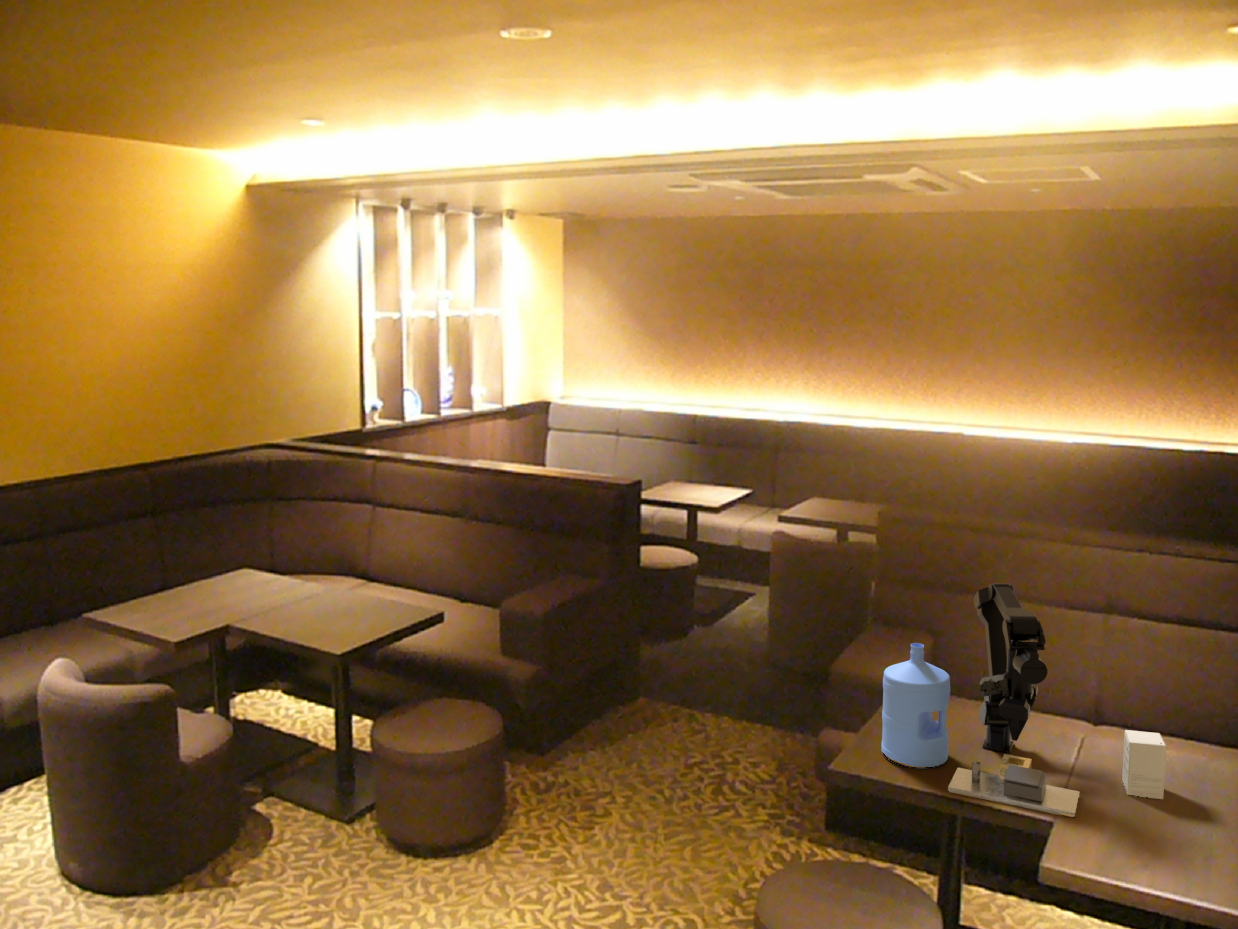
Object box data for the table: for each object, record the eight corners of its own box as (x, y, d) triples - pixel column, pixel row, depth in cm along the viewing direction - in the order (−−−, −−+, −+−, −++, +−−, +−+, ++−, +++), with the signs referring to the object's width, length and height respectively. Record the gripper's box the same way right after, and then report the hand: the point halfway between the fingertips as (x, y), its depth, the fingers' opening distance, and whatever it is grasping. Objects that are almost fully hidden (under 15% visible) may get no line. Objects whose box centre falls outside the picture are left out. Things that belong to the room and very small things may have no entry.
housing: (1009, 779, 224) (1009, 764, 223) (1046, 786, 220) (1046, 771, 219) (1003, 793, 217) (1004, 778, 216) (1041, 801, 213) (1042, 786, 212)
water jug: (873, 761, 237) (876, 649, 233) (890, 738, 251) (892, 631, 247) (940, 775, 229) (944, 659, 226) (953, 750, 243) (957, 640, 239)
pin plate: (957, 772, 231) (958, 749, 230) (1079, 796, 218) (1080, 772, 217) (948, 791, 221) (948, 768, 221) (1074, 818, 209) (1076, 793, 208)
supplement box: (1157, 785, 223) (1160, 732, 221) (1163, 800, 216) (1167, 746, 214) (1121, 781, 225) (1124, 728, 223) (1126, 796, 218) (1129, 741, 216)
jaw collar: (1003, 766, 234) (1004, 754, 233) (1031, 771, 231) (1031, 759, 230) (999, 776, 229) (1000, 763, 228) (1027, 781, 226) (1028, 769, 225)
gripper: (989, 651, 238) (987, 713, 240) (976, 675, 222) (973, 741, 224) (1039, 658, 233) (1036, 721, 235) (1029, 683, 217) (1026, 751, 219)
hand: (1017, 733), depth 228 cm, fingers open, 9 cm apart
